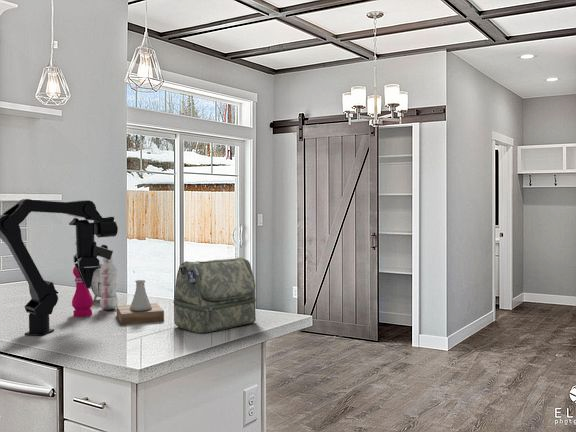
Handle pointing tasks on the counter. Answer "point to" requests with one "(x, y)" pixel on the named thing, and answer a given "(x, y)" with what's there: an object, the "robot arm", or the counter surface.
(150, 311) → the board
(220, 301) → the lunch bag
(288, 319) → the counter surface
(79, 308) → the pepper mill
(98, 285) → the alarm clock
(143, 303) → the flask
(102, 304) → the plastic bottle
